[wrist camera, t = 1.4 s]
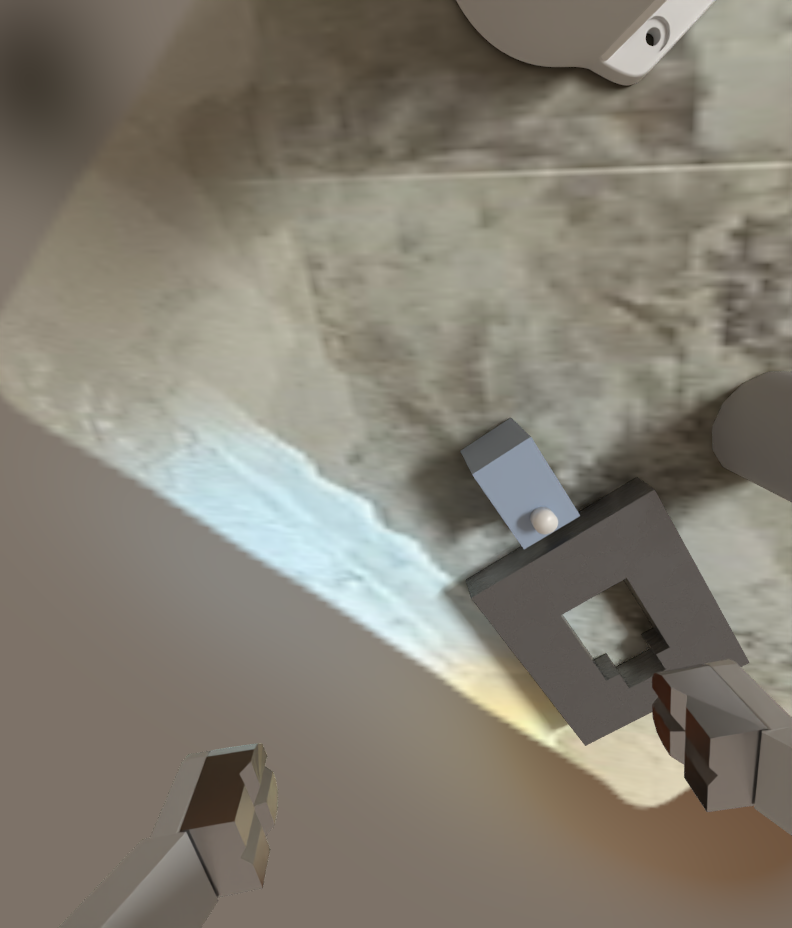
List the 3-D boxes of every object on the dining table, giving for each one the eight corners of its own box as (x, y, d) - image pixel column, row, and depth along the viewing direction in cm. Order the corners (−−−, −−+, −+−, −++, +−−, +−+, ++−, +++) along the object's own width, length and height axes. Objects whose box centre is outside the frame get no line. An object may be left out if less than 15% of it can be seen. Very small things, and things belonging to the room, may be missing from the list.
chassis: (637, 477, 38) (654, 489, 35) (729, 642, 44) (749, 662, 41) (465, 580, 40) (471, 598, 38) (574, 722, 46) (585, 745, 44)
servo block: (510, 417, 36) (535, 441, 30) (564, 501, 38) (596, 538, 33) (460, 450, 37) (475, 480, 31) (515, 531, 39) (538, 572, 33)
